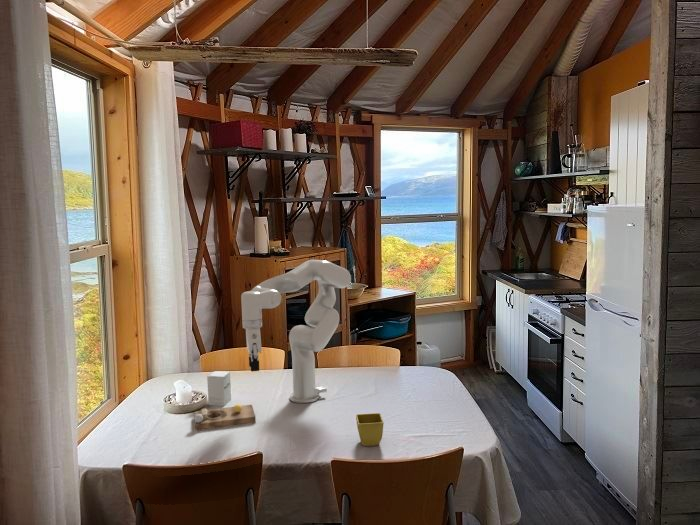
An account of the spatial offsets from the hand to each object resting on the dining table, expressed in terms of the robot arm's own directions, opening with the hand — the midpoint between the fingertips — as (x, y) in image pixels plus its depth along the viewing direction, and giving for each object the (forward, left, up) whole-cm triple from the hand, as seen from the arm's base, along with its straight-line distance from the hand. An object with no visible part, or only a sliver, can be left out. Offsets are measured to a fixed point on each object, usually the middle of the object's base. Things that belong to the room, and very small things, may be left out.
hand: (254, 368), depth 211 cm
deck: (+12, 0, -20) cm, 23 cm away
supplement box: (+13, -20, -20) cm, 31 cm away
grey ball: (+22, +5, -15) cm, 27 cm away
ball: (+7, 0, -15) cm, 17 cm away
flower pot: (-35, +37, -20) cm, 55 cm away
